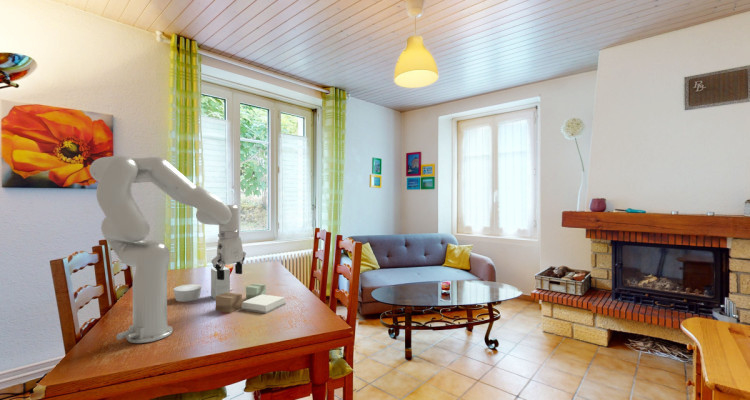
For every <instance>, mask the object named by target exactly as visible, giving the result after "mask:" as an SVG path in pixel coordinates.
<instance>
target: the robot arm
mask: <svg viewBox="0 0 750 400" xmlns="http://www.w3.org/2000/svg"><path fill="white" fill-rule="evenodd" d="M89 174H90V176H91V177H92V179H94V180H95V181H96V182H98V183H97V187H96V193H95V194H96V201H97V203H98V205H99V207H100V209H101V210H102V212H103V214H104V215H105V217H104V219H102V222H101V225H100V229H101V233H102V236H103V238H104V239H105V240H106V242H107V244H108V245H109V246H110V248H111V250H113V252H114V254H115V255H116V257H118V259H119V260H120V262H122V263H123V265H126V266H129V267H132V268H135V272H134V276H133V278H132V324H131V325H129V326H128V327H129V328H128V329H126V331H122V332H120V333H117V334H116V340H117V341H120V340H123V339H126V341H128V342H129V343H133V344H143V343H144V344H145V343H151V342H155V341H159V340H162V339H164V338H167V337H168V336H170V335H171V334H172V333H173V327H172V326H171V325H168V269H169V265H170V260H171V253H170V250H169V247H167V245H166V244H164V243H163V242H161V241H158V240H152V239H146V238H147V237H148V236H149V234H150V231H151V230H150V228H151V227H150V224H149V222H148V220H147V218H146V217H145V215H144V214H143V212H142V211H141V209H140V208H139V207H140V206H138V203H136V202H137V201H135V198H134V196H133V193H132V186H133V184H140V183H141V184H142V183H152V184H154V186H156V187H157V188H158V189H159V190H161V191H163V192H164V193H165V194H166V195H167V196H168V197H170V198H171V199H172V200H174V201H176V202H178V203H180V204H182V205H186V206H190V207H192V208H195V209H197V210H196V212H195V217H196V219H197V221H198V222H199V223H201V224H202V225H210V226H218V234H217V237H218V240H217V245H216V256H215V257H214V258H213V259H212V260H211V264H212V265H213V267H212V268H215V269H216V270H217V279H218V280H224V270H223V268H224V267H226V265H231V264H235V265H234V266H235V267H234V273H235V274H236V275H242V274H243V264H244V261H245V260H246V255H247V253H246V252H245V251H244V250H243V242H242V239H241V237H240V222H239V220H240V219H239V218H240V217H239V215H240V212H239V206H238V205H236V204H226V203H225V202H224V201H222V200H221V199H220V198H219V197H218V196H216V195H215V194H213V193H211V192H210V191H208V190H206V189H204V188H202V186H201V187H200V186H199V185H197V184H195V183H193V182H192V181H191V180H190V179H189V178H187V176H185V175H184V174H183V173H182V172H181V171H179V170H178V169H177V167H175V166H174V165H173V164H172V163H171V162H170V161H168V160H166V159H165V158H163V157H160V156H159V157H158V156H152V157H151V156H149V157H141V158H140V157H138V158H137V157H136V158H132V157H129V156H126V155H112V156H103V157H100V158H99V157H98V158H97V159H95V160H93V161H92V163H91V164H90V166H89Z"/></svg>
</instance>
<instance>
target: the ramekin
mask: <svg viewBox="0 0 750 400" xmlns="http://www.w3.org/2000/svg"><path fill="white" fill-rule="evenodd" d="M172 290H173V294H174V297H175V301H177V302H179V303H181V302H182V303H185V302H192V301H196V300H198V299H199V298H200V296H201V291H202V285H201V284H198V283H197V284H194V283H193V284H192V283H191V284H190V283H189V284H182V285H179V286H176V287H174V288H173V289H172Z"/></svg>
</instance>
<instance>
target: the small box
mask: <svg viewBox="0 0 750 400" xmlns="http://www.w3.org/2000/svg"><path fill="white" fill-rule="evenodd" d="M223 270H224V280H218V279H217V270H216V269H215V268H214V267H211V268H210V297H212V298H213V299H214V300H215V301H216V296H217V295H220V294H223V293H226V292H230V293H231V269H230V268H229V267H226V266H224V268H223Z"/></svg>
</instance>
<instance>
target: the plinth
mask: <svg viewBox="0 0 750 400" xmlns="http://www.w3.org/2000/svg"><path fill="white" fill-rule="evenodd" d="M285 305H287V304H286V302H285V297H284V296H278V295H271V294H266V295H264V294H261V295H259V296H256V297H254V298H251V299H249V300H246V299H245V300H244V301H242V308H241V309H240V310H241V311H247V312H254V313H259V314H268V313H270V312H273V311H275V310H277V309H278V308H281V307H283V306H285Z"/></svg>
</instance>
